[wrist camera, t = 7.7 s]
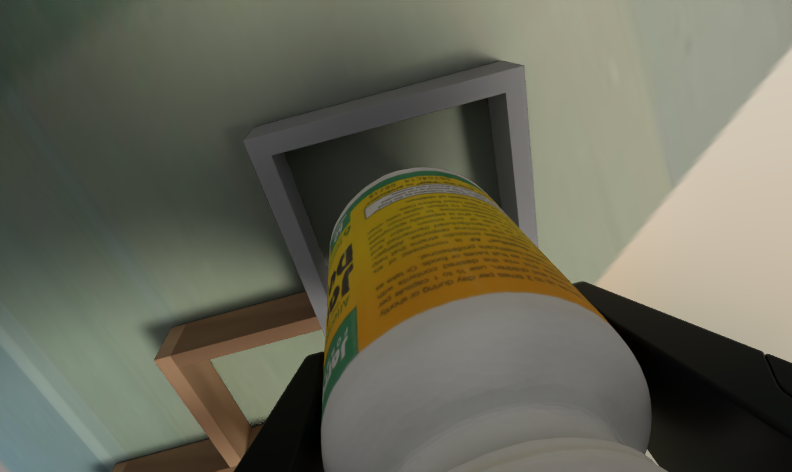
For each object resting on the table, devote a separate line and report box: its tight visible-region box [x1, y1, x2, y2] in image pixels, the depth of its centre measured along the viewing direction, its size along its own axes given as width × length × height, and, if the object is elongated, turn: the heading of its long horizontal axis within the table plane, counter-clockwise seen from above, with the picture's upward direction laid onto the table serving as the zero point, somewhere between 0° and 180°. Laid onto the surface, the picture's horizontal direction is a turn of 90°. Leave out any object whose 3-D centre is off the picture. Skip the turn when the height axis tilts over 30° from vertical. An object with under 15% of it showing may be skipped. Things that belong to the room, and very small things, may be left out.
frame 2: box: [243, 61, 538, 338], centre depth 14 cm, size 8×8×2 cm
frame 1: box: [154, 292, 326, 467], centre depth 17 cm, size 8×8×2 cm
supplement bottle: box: [321, 167, 668, 472], centre depth 8 cm, size 5×5×10 cm
